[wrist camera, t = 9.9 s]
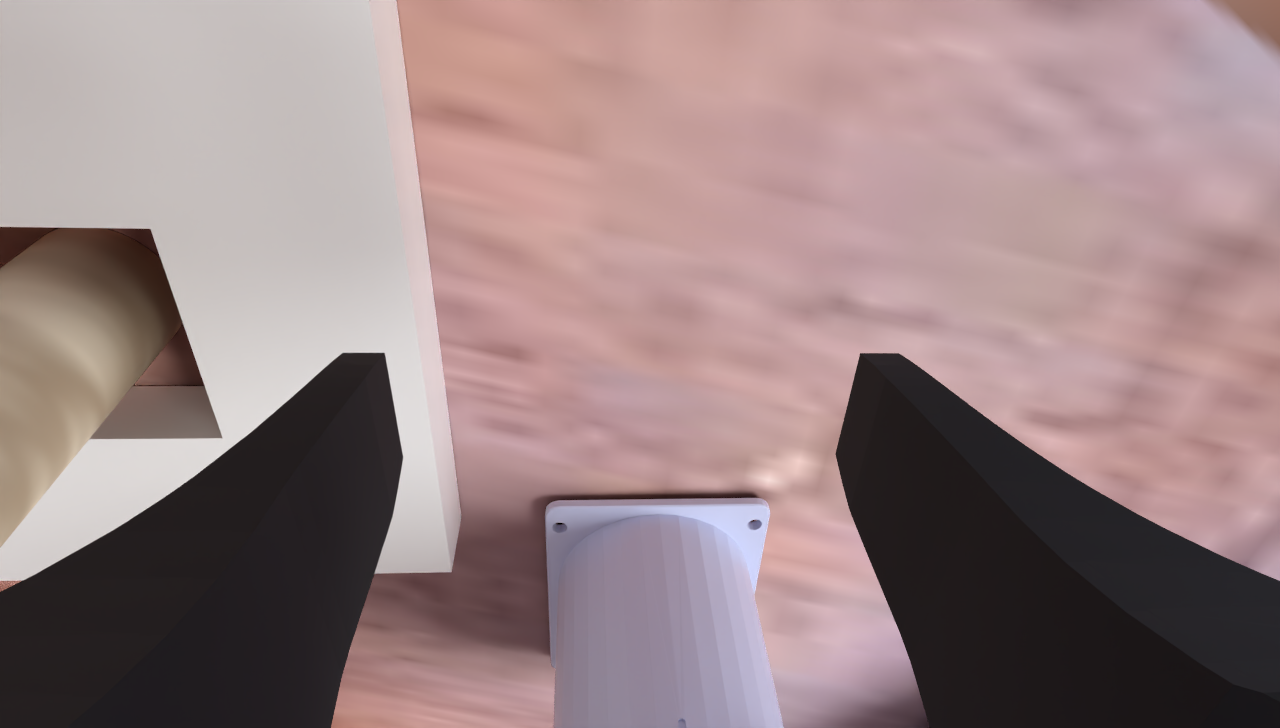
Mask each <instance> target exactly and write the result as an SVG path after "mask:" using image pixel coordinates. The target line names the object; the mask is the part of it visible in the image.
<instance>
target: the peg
mask: <svg viewBox="0 0 1280 728" xmlns="http://www.w3.org/2000/svg"><path fill="white" fill-rule="evenodd" d="M181 324H182V319H181V316H180V313H179V310H178V307H177V304H176V301H175V299H174V296H173V293H172V290H171V287H170V284H169V281H168V278H167V275H166V273H165V270H164V267H163V264H162V261H161V259H160V258H159V257H157V256H156V255H155V254H154V253H153V252H152V251H150V250H149V249H148V248H146V247H145V246H143V245H142V244H140V243H138V242H137V241H135V240H133V239H131V238H129V237H127V236H125V235H123V234H120V233H118V232H115V231H112V230H108V229H105V228H59V229H56V230H53V231H51V232H49V233H47V234H46V235H44V236H43V237H42V238H40V239H39V240H38V241H36V242H35V243H34V244H32V245H31V246H30V247H28V248H27V249H26V250H24V251H23V252H21V253H20V254H19V255H17V256H16V257H15V258H13V259H12V260H11V261H9V262H8V263H7V264H5V265H4V266H3V267H1V268H0V548H1V546H2V545H3V544H4V543H5V542H6V540H7V539H8V538H9V537H10V535H11V534H12V533H13V532H14V531H15V529H16V528H17V527H18V526H19V524H20V523H21V522H22V521H23V520H24V518H25V517H26V516H27V515H28V513H29V512H30V511H31V510H32V508H33V507H34V506H35V505H36V504H37V502H38V501H39V500H40V499H41V497H42V496H43V495H44V494H45V493H46V491H47V490H48V489H49V488H50V486H51V485H52V484H53V483H54V482H55V480H56V479H57V478H58V477H59V475H60V474H61V473H62V472H63V471H64V469H65V468H66V467H67V466H68V464H69V463H70V462H71V461H72V460H73V458H74V457H75V456H76V455H77V453H78V452H79V451H80V450H81V449H82V447H83V446H84V445H85V444H86V442H87V441H88V440H89V439H90V438H91V436H92V435H93V434H94V433H95V431H96V430H97V429H98V428H99V427H100V425H101V424H102V423H103V422H104V420H105V419H106V418H107V417H108V416H109V414H110V413H111V412H112V411H113V409H114V408H115V407H116V406H117V405H118V403H119V402H120V401H121V400H122V398H123V397H124V396H125V395H126V394H127V392H128V391H129V390H130V389H131V387H132V386H133V385H134V384H135V383H136V381H137V380H138V379H139V378H140V376H141V375H142V374H143V373H144V372H145V370H146V369H147V368H148V367H149V365H150V364H151V363H152V362H153V361H154V359H155V358H156V357H157V356H158V354H159V353H160V352H161V351H162V350H163V348H164V347H165V346H166V345H167V343H168V342H169V341H170V340H171V339H172V337H173V336H174V335H175V334H176V332H177V331H178V330H179V328H180V326H181Z"/></svg>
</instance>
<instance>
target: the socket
mask: <svg viewBox="0 0 1280 728" xmlns="http://www.w3.org/2000/svg"><path fill="white" fill-rule="evenodd" d="M0 227H51V228H130V229H151V232H152V235H153V238H154V241H155V244H156V247H157V249H158V252H159V255H160V258H161V261H162V264H163V267H164V270H165V273H166V275H167V278H168V281H169V284H170V287H171V290H172V293H173V296H174V299H175V301H176V304H177V307H178V310H179V313H180V316H181V319H182V322H183V325H184V328H185V330H186V333H187V336H188V339H189V342H190V345H191V348H192V351H193V354H194V356H195V359H196V362H197V365H198V368H199V371H200V374H201V377H202V380H203V382H204V385H205V386H132V387H131V389H130V390H129V391H128V392H127V394H126V395H125V396H124V397H123V398H122V400H121V401H120V402H119V403H118V405H117V406H116V407H115V408H114V409H113V411H112V412H111V413H110V414H109V416H108V417H107V418H106V419H105V420H104V422H103V423H102V424H101V425H100V427H99V428H98V429H97V430H96V431H95V433H94V434H93V435H92V436H91V438H90V439H89V440H88V441H87V442H86V444H85V445H84V446H83V447H82V449H81V450H80V451H79V452H78V453H77V455H76V456H75V457H74V458H73V460H72V461H71V462H70V463H69V464H68V466H67V467H66V468H65V469H64V471H63V472H62V473H61V474H60V475H59V477H58V478H57V479H56V480H55V482H54V483H53V484H52V485H51V486H50V488H49V489H48V490H47V491H46V493H45V494H44V495H43V496H42V497H41V499H40V500H39V501H38V502H37V504H36V505H35V506H34V507H33V508H32V510H31V511H30V512H29V513H28V515H27V516H26V517H25V518H24V520H23V521H22V522H21V523H20V524H19V526H18V527H17V528H16V529H15V531H14V532H13V533H12V534H11V535H10V537H9V538H8V539H7V540H6V542H5V543H4V544H3V545H2V546H1V548H0V581H19V580H25V579H27V578H29V577H31V576H33V575H35V574H37V573H38V572H40V571H42V570H44V569H45V568H47V567H49V566H51V565H53V564H54V563H56V562H58V561H60V560H61V559H63V558H65V557H67V556H68V555H70V554H72V553H74V552H76V551H77V550H79V549H81V548H83V547H84V546H86V545H88V544H90V543H91V542H93V541H95V540H97V539H99V538H100V537H102V536H104V535H106V534H107V533H109V532H111V531H112V530H114V529H116V528H117V527H119V526H121V525H122V524H124V523H126V522H127V521H129V520H130V519H132V518H133V517H135V516H136V515H138V514H139V513H141V512H143V511H144V510H146V509H147V508H149V507H150V506H152V505H153V504H155V503H156V502H158V501H160V500H161V499H163V498H164V497H165V496H167V495H168V494H170V493H171V492H173V491H174V490H176V489H177V488H179V487H180V486H181V485H183V484H184V483H186V482H187V481H188V480H190V479H191V478H193V477H194V476H195V475H197V474H198V473H199V472H200V471H202V470H203V469H204V468H206V467H207V466H208V465H209V464H211V463H212V462H213V461H215V460H216V459H217V458H218V457H220V456H221V455H222V454H224V453H225V452H226V451H228V450H229V449H230V448H231V447H233V446H234V445H235V444H237V443H238V442H239V441H240V440H242V439H243V438H244V437H246V436H247V435H248V434H249V433H251V432H252V431H253V430H254V429H255V428H257V427H258V426H259V425H260V424H261V423H262V422H264V421H265V420H266V419H267V418H268V417H269V416H271V415H272V414H273V413H274V412H275V411H276V410H278V409H279V408H280V407H281V406H282V405H283V404H285V403H286V402H287V401H288V400H289V399H290V398H292V397H293V396H294V395H295V394H296V393H297V392H298V391H299V390H301V389H302V388H303V387H304V386H305V385H306V384H307V383H308V382H309V381H311V380H312V379H313V378H314V377H315V376H316V375H317V374H318V373H320V372H321V371H322V370H323V369H324V368H325V367H326V366H327V365H329V364H330V363H331V362H332V361H333V360H334V359H336V358H337V357H338V356H339V355H341V354H342V353H385V357H386V363H387V368H388V374H389V380H390V385H391V391H392V397H393V402H394V408H395V414H396V419H397V425H398V431H399V437H400V442H401V448H402V454H403V462H402V468H401V474H400V480H399V486H398V491H397V497H396V502H395V507H394V512H393V517H392V520H391V523H390V526H389V530H388V533H387V536H386V539H385V542H384V545H383V548H382V552H381V555H380V558H379V561H378V564H377V567H376V570H375V573H374V574H382V573H434V572H452V567H453V562H454V556H455V551H456V545H457V539H458V534H459V528H460V523H461V509H460V501H459V493H458V485H457V477H456V469H455V461H454V453H453V445H452V437H451V429H450V421H449V414H448V406H447V398H446V390H445V382H444V374H443V366H442V358H441V350H440V342H439V334H438V326H437V318H436V311H435V303H434V295H433V287H432V279H431V271H430V263H429V255H428V247H427V239H426V231H425V223H424V215H423V208H422V200H421V192H420V184H419V176H418V168H417V160H416V152H415V144H414V136H413V128H412V120H411V112H410V105H409V97H408V89H407V81H406V73H405V65H404V57H403V49H402V41H401V33H400V25H399V17H398V9H397V2H396V0H0Z"/></svg>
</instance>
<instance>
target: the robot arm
mask: <svg viewBox="0 0 1280 728" xmlns="http://www.w3.org/2000/svg"><path fill="white" fill-rule="evenodd" d="M836 458H837V462H838V466H839V471H840V475H841V479H842V483H843V487H844V491H845V495H846V498H847V502H848V506H849V509H850V512H851V515H852V517H853V520H854V522H855V525H856V527H857V530H858V532H859V535H860V537H861V540H862V542H863V545H864V547H865V550H866V552H867V554H868V557H869V559H870V562H871V564H872V566H873V569H874V571H875V574H876V576H877V578H878V581H879V583H880V586H881V588H882V590H883V593H884V595H885V598H886V600H887V603H888V605H889V607H890V610H891V612H892V615H893V617H894V619H895V622H896V624H897V627H898V629H899V631H900V634H901V637H902V639H903V642H904V645H905V648H906V650H907V653H908V656H909V659H910V661H911V665H912V668H913V671H914V675H915V678H916V682H917V685H918V688H919V692H920V695H921V699H922V702H923V705H924V709H925V712H926V716H927V719H928V722H929V726H930V728H1280V581H1278V580H1276V579H1273V578H1271V577H1268V576H1266V575H1264V574H1261V573H1259V572H1257V571H1254V570H1252V569H1250V568H1248V567H1245V566H1243V565H1241V564H1239V563H1236V562H1234V561H1232V560H1229V559H1227V558H1225V557H1223V556H1221V555H1218V554H1216V553H1214V552H1212V551H1210V550H1208V549H1206V548H1204V547H1202V546H1200V545H1198V544H1196V543H1194V542H1192V541H1189V540H1187V539H1185V538H1183V537H1181V536H1179V535H1177V534H1175V533H1173V532H1171V531H1169V530H1167V529H1165V528H1163V527H1161V526H1159V525H1157V524H1155V523H1153V522H1151V521H1149V520H1148V519H1146V518H1144V517H1142V516H1140V515H1138V514H1136V513H1134V512H1133V511H1131V510H1129V509H1127V508H1126V507H1124V506H1122V505H1120V504H1119V503H1117V502H1115V501H1113V500H1112V499H1110V498H1108V497H1106V496H1104V495H1103V494H1101V493H1099V492H1097V491H1096V490H1094V489H1092V488H1090V487H1089V486H1087V485H1086V484H1084V483H1082V482H1081V481H1079V480H1077V479H1076V478H1074V477H1072V476H1071V475H1069V474H1068V473H1066V472H1065V471H1063V470H1061V469H1060V468H1058V467H1057V466H1055V465H1054V464H1052V463H1051V462H1049V461H1048V460H1046V459H1045V458H1043V457H1042V456H1040V455H1039V454H1037V453H1036V452H1034V451H1033V450H1031V449H1030V448H1028V447H1027V446H1025V445H1024V444H1022V443H1021V442H1020V441H1018V440H1017V439H1015V438H1014V437H1012V436H1011V435H1010V434H1008V433H1007V432H1005V431H1004V430H1003V429H1001V428H1000V427H999V426H997V425H996V424H994V423H993V422H992V421H990V420H989V419H988V418H986V417H985V416H984V415H982V414H981V413H979V412H978V411H977V410H975V409H974V408H973V407H971V406H970V405H969V404H967V403H966V402H965V401H963V400H962V399H961V398H960V397H958V396H957V395H956V394H954V393H953V392H952V391H950V390H949V389H948V388H946V387H945V386H944V385H942V384H941V383H940V382H938V381H937V380H936V379H934V378H933V377H932V376H930V375H929V374H928V373H926V372H925V371H924V370H922V369H921V368H920V367H918V366H917V365H915V364H914V363H913V362H911V361H910V360H908V359H907V358H905V357H904V356H902V355H900V354H892V353H860V357H859V361H858V365H857V369H856V373H855V377H854V381H853V385H852V389H851V394H850V398H849V402H848V406H847V410H846V414H845V418H844V422H843V426H842V430H841V434H840V438H839V442H838V446H837V450H836ZM402 462H403V454H402V448H401V442H400V437H399V431H398V425H397V419H396V414H395V408H394V402H393V397H392V391H391V385H390V380H389V374H388V368H387V363H386V357H385V353H342V354H341V355H339V356H338V357H337V358H336V359H334V360H333V361H332V362H331V363H330V364H329V365H327V366H326V367H325V368H324V369H323V370H322V371H321V372H320V373H318V374H317V375H316V376H315V377H314V378H313V379H312V380H311V381H309V382H308V383H307V384H306V385H305V386H304V387H303V388H302V389H301V390H299V391H298V392H297V393H296V394H295V395H294V396H293V397H292V398H290V399H289V400H288V401H287V402H286V403H285V404H283V405H282V406H281V407H280V408H279V409H278V410H276V411H275V412H274V413H273V414H272V415H271V416H269V417H268V418H267V419H266V420H265V421H264V422H262V423H261V424H260V425H259V426H258V427H257V428H255V429H254V430H253V431H252V432H251V433H249V434H248V435H247V436H246V437H244V438H243V439H242V440H240V441H239V442H238V443H237V444H235V445H234V446H233V447H231V448H230V449H229V450H228V451H226V452H225V453H224V454H222V455H221V456H220V457H218V458H217V459H216V460H215V461H213V462H212V463H211V464H209V465H208V466H207V467H206V468H204V469H203V470H202V471H200V472H199V473H198V474H197V475H195V476H194V477H193V478H191V479H190V480H188V481H187V482H186V483H184V484H183V485H181V486H180V487H179V488H177V489H176V490H174V491H173V492H171V493H170V494H168V495H167V496H165V497H164V498H163V499H161V500H160V501H158V502H156V503H155V504H153V505H152V506H150V507H149V508H147V509H146V510H144V511H143V512H141V513H139V514H138V515H136V516H135V517H133V518H132V519H130V520H129V521H127V522H126V523H124V524H122V525H121V526H119V527H117V528H116V529H114V530H112V531H111V532H109V533H107V534H106V535H104V536H102V537H100V538H99V539H97V540H95V541H93V542H91V543H90V544H88V545H86V546H84V547H83V548H81V549H79V550H77V551H76V552H74V553H72V554H70V555H68V556H67V557H65V558H63V559H61V560H60V561H58V562H56V563H54V564H53V565H51V566H49V567H47V568H45V569H44V570H42V571H40V572H38V573H37V574H35V575H33V576H31V577H29V578H27V579H25V580H23V581H21V582H19V583H17V584H15V585H13V586H11V587H9V588H7V589H5V590H3V591H1V592H0V728H331V724H332V719H333V715H334V710H335V705H336V701H337V696H338V691H339V687H340V682H341V678H342V674H343V670H344V667H345V663H346V660H347V656H348V653H349V649H350V646H351V643H352V640H353V637H354V634H355V631H356V628H357V625H358V621H359V618H360V615H361V612H362V609H363V606H364V603H365V600H366V597H367V594H368V591H369V588H370V585H371V582H372V579H373V576H374V573H375V570H376V567H377V564H378V561H379V558H380V555H381V552H382V548H383V545H384V542H385V539H386V536H387V533H388V530H389V526H390V523H391V520H392V517H393V512H394V507H395V502H396V497H397V491H398V486H399V480H400V474H401V468H402ZM769 516H770V509H769V506H768V503H767V502H766V501H765V500H763V499H761V498H705V499H625V500H558V501H553V502H551V503H549V504H548V506H547V507H546V510H545V528H546V553H547V578H548V603H549V629H550V654H551V665H552V667H554V668H555V695H554V725H553V728H784V727H783V722H782V718H781V713H780V709H779V704H778V700H777V695H776V691H775V686H774V682H773V677H772V673H771V668H770V664H769V659H768V655H767V651H766V646H765V642H764V637H763V633H762V628H761V624H760V619H759V615H758V610H757V606H756V601H755V597H754V594H755V589H756V584H757V579H758V573H759V568H760V563H761V558H762V553H763V548H764V542H765V537H766V532H767V527H768V522H769ZM752 520H757V521H754V522H750V521H752ZM559 522H560V523H564V524H562V525H558V524H555V523H559Z"/></svg>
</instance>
